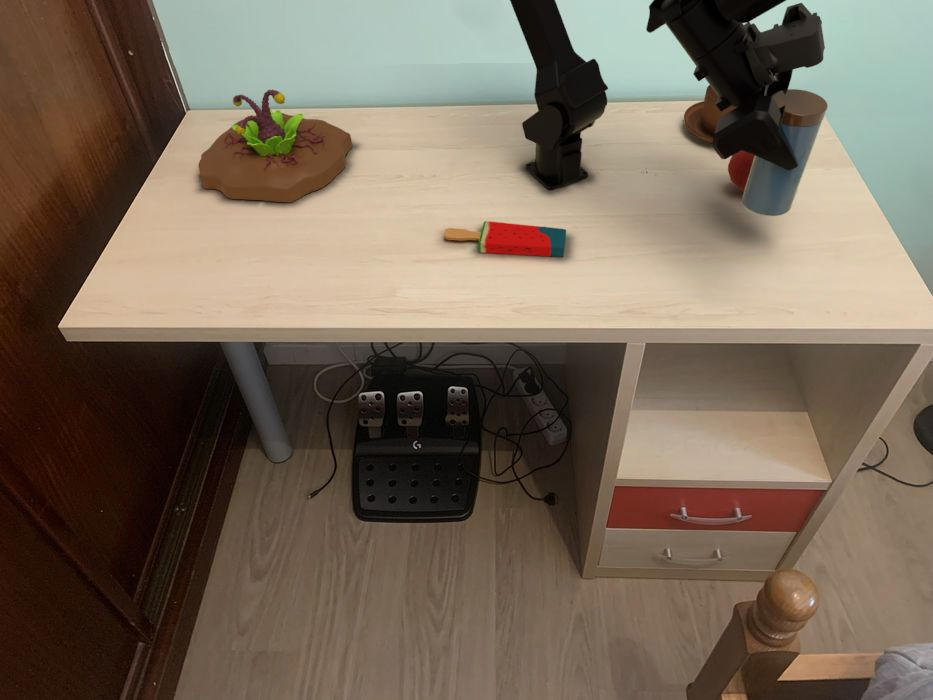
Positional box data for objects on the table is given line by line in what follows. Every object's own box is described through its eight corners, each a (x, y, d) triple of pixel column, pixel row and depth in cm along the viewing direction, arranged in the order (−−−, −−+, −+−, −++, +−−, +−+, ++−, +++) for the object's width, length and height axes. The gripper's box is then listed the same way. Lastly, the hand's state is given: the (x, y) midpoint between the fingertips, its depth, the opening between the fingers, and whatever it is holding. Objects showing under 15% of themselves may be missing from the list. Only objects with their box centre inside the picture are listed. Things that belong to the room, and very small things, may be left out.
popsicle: (447, 217, 93) (566, 227, 91) (447, 227, 94) (565, 236, 92) (440, 239, 89) (563, 249, 87) (441, 249, 91) (563, 259, 88)
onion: (771, 184, 98) (788, 130, 92) (764, 208, 94) (781, 153, 89) (727, 175, 100) (741, 121, 94) (718, 198, 96) (732, 143, 90)
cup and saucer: (706, 103, 114) (714, 64, 109) (780, 127, 108) (792, 88, 103) (666, 135, 107) (673, 95, 103) (742, 162, 102) (754, 122, 97)
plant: (305, 215, 96) (287, 138, 88) (180, 189, 101) (153, 114, 93) (370, 139, 109) (360, 66, 101) (256, 119, 114) (238, 48, 106)
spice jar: (738, 210, 84) (768, 110, 75) (744, 184, 88) (774, 85, 79) (789, 220, 83) (826, 119, 74) (793, 193, 86) (829, 93, 77)
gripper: (780, 27, 64) (870, 162, 69) (798, -45, 75) (873, 74, 80) (673, 98, 71) (760, 214, 76) (704, 22, 83) (778, 127, 88)
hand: (796, 154), depth 80 cm, fingers closed on spice jar, 5 cm apart
